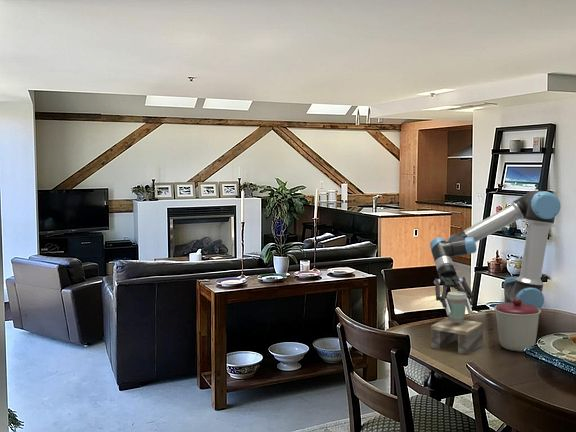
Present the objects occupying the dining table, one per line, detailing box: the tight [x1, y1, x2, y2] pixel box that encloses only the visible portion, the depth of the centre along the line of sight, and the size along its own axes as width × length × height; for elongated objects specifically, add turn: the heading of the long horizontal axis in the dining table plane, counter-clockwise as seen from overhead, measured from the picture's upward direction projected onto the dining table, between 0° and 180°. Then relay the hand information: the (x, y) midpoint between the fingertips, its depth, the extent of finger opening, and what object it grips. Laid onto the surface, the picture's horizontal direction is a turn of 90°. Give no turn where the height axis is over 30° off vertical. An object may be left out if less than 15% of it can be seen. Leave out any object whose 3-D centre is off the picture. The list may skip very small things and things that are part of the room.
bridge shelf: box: [430, 317, 484, 356], centre depth 235 cm, size 16×16×10 cm
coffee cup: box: [445, 290, 467, 323], centre depth 235 cm, size 8×8×12 cm
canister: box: [493, 298, 542, 352], centre depth 230 cm, size 18×18×21 cm
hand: (459, 313), depth 231 cm, fingers closed on coffee cup, 8 cm apart
